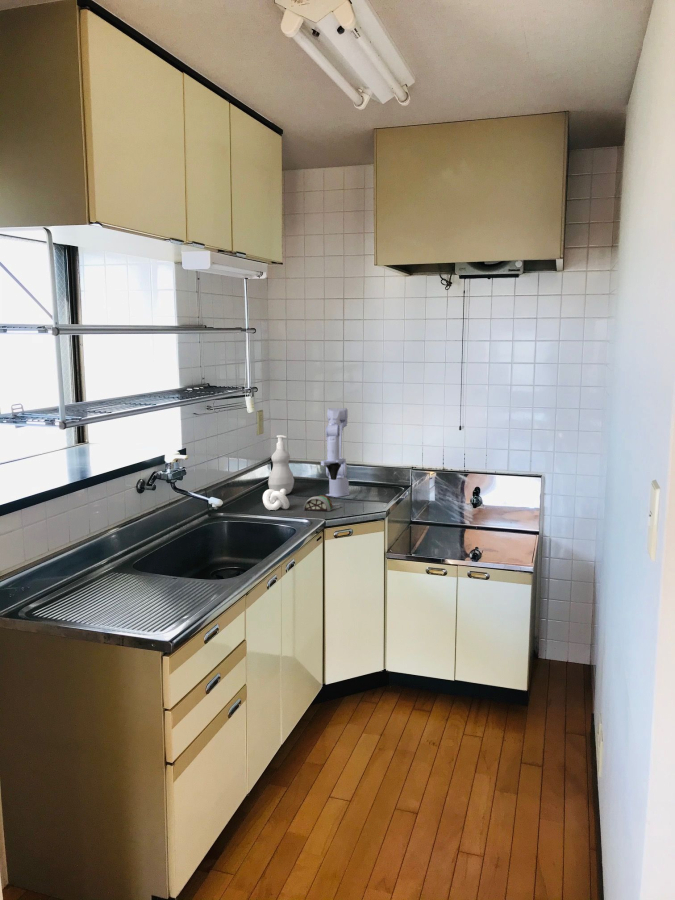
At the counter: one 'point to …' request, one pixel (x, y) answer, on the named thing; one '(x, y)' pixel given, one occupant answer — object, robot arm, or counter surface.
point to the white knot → (275, 499)
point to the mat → (333, 507)
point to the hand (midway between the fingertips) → (333, 479)
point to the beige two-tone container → (318, 503)
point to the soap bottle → (281, 469)
